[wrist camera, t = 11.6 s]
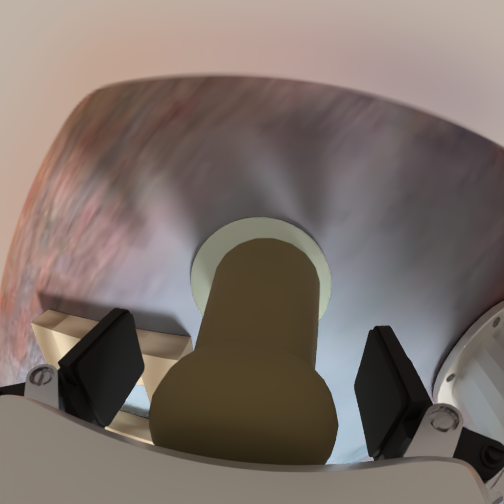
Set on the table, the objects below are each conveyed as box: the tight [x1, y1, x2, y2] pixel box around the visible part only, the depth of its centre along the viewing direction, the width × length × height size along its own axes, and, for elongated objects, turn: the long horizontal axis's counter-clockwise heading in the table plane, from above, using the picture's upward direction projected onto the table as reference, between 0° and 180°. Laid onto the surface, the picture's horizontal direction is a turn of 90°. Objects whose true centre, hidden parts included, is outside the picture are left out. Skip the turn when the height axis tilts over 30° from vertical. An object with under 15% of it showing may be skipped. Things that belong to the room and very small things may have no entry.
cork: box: [149, 238, 338, 465], centre depth 10 cm, size 6×6×11 cm
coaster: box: [191, 217, 331, 322], centre depth 16 cm, size 8×8×1 cm
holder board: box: [31, 309, 193, 445], centre depth 19 cm, size 14×14×3 cm
